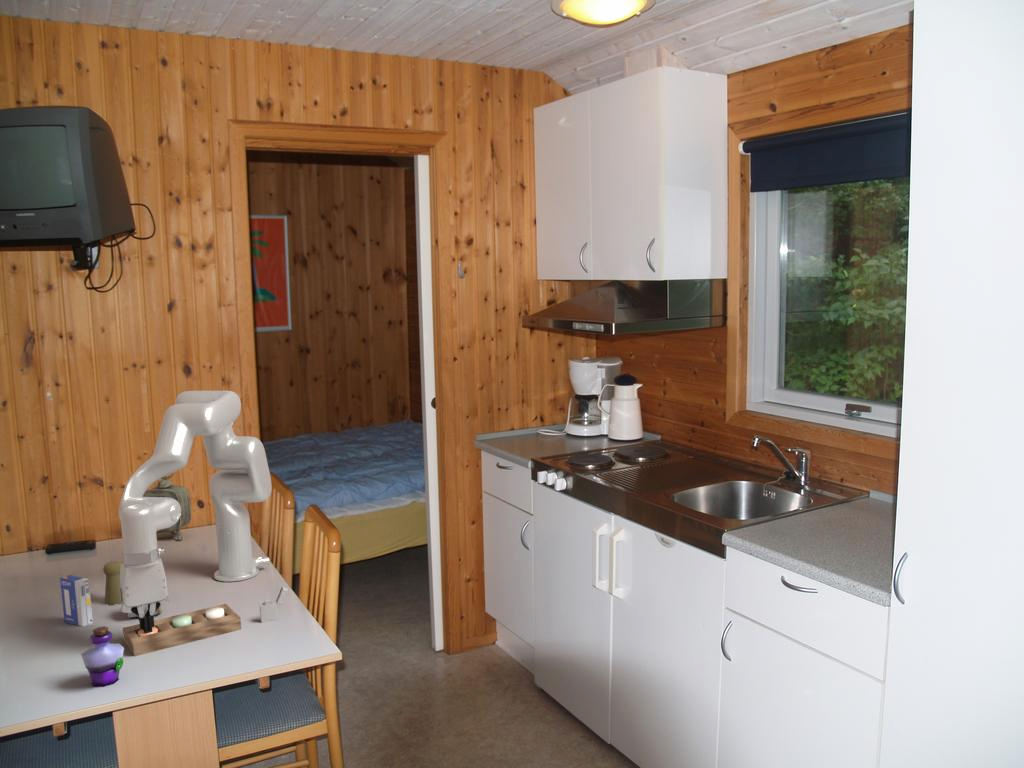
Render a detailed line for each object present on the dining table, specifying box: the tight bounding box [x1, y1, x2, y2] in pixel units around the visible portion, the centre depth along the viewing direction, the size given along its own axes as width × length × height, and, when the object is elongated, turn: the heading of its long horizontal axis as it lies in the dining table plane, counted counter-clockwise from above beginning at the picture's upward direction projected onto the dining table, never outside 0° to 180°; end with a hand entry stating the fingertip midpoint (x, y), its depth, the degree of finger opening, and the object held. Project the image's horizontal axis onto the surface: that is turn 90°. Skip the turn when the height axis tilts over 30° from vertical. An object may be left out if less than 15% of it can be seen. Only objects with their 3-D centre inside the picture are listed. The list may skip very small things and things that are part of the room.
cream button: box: [206, 608, 224, 620], centre depth 221 cm, size 4×4×2 cm
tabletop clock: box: [143, 472, 192, 541], centre depth 300 cm, size 14×9×25 cm, turn 81°
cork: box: [102, 560, 124, 606], centre depth 241 cm, size 6×6×11 cm
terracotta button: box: [138, 627, 158, 637], centre depth 213 cm, size 4×4×2 cm
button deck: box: [122, 603, 242, 657], centre depth 217 cm, size 25×12×3 cm, turn 125°
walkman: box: [59, 574, 94, 627], centre depth 227 cm, size 8×3×12 cm, turn 60°
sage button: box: [172, 615, 192, 628], centre depth 217 cm, size 4×4×2 cm
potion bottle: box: [80, 626, 125, 688], centre depth 192 cm, size 9×9×12 cm
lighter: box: [258, 586, 289, 624], centre depth 225 cm, size 7×2×8 cm, turn 115°
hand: (147, 630), depth 212 cm, fingers closed
